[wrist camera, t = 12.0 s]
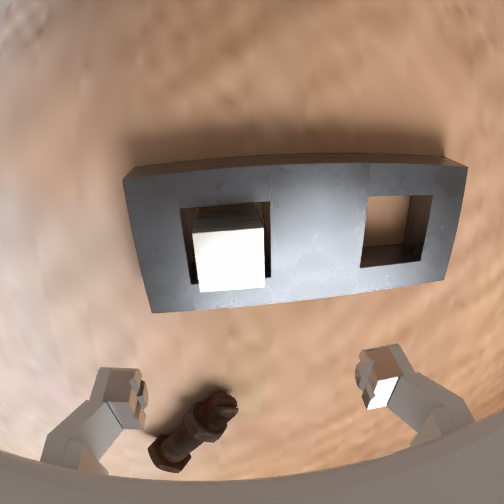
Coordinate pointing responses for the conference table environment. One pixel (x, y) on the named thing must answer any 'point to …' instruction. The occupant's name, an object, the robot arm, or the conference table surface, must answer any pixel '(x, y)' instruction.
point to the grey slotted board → (296, 223)
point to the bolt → (193, 432)
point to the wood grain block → (229, 247)
